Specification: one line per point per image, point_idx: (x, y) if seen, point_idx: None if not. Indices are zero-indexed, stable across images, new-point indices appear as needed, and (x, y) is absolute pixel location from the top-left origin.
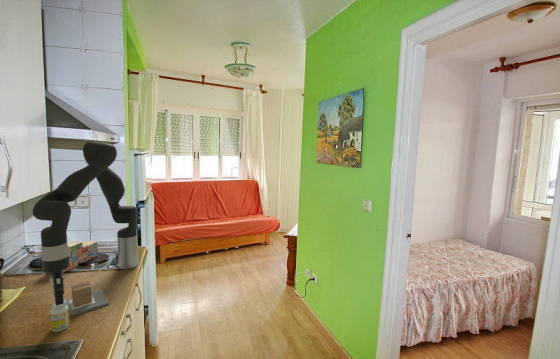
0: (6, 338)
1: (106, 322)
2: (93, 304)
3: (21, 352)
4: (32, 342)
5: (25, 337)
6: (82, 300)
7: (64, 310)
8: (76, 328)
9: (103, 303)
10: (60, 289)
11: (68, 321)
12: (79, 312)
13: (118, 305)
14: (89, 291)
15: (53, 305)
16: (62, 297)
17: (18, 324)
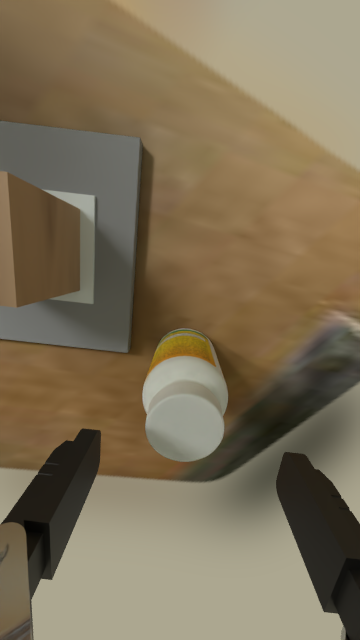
0: (131, 474)
1: (298, 207)
2: (107, 209)
3: (243, 456)
4: None
5: None
6: (67, 252)
7: (224, 386)
8: (240, 315)
9: (131, 162)
10: (83, 462)
11: (205, 340)
12: (133, 280)
13: (188, 98)
14: (37, 200)
15: (198, 457)
16: (338, 513)
17: None
